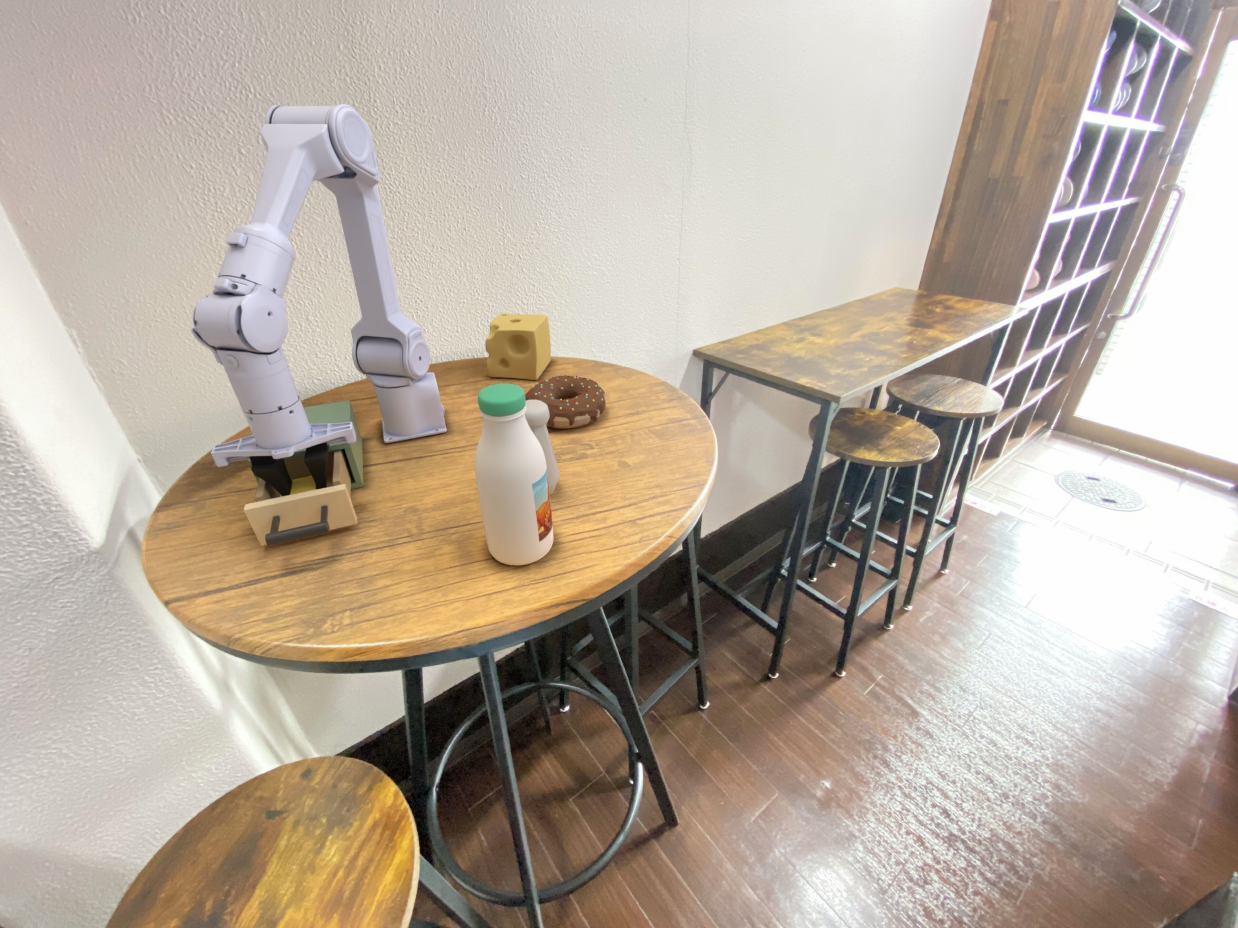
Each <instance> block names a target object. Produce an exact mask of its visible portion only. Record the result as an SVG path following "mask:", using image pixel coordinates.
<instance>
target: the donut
mask: <svg viewBox="0 0 1238 928" xmlns="http://www.w3.org/2000/svg"><path fill="white" fill-rule="evenodd" d="M525 400H540V401H542V402H544V403H545V404H547V406H548V410H549V416H550V418H549V420H548V422H547V423H546V426H547V428H548V427H549V428H553V429H568V430H569V429H576V428H580V427H585V426H587V425H589V424H591V423H594V422H596V420H597V419H598V418H599V417H601V416H602V414H603V413H604V412H605V409H606V405H607V398H606V393H605V391H604V389H603V388H602V387H601V386H600V383H598V382H597V381H595V380H593V379H591V378H590V377H587V376H582V377H581V376H578V375H575V376H574V375H569V374H565V375H564V374H561V375H556V376H552V377H551V378H547V379H544V380H542V381H539V382H536V383H535V385H532V387H530V388H529V390H528V391H526V392H525Z"/></svg>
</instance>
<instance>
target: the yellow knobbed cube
mask: <svg viewBox="0 0 1238 928" xmlns="http://www.w3.org/2000/svg"><path fill="white" fill-rule="evenodd" d="M312 490H317V488H316V485H315V482H314V479H313V477H312V476H309V477H304V478H299V479H294V480H293V481H292V487H291V492H290V495H293V494H298V493H302V492H307V491H312Z"/></svg>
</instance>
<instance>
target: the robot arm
mask: <svg viewBox="0 0 1238 928" xmlns="http://www.w3.org/2000/svg"><path fill="white" fill-rule="evenodd" d="M259 133H260V138H261V140H262V143H263V146H264V148H265V150H266V157H265V160H264V166H263V170H262V174H261V179H260V183H259V187H258V191H257V194H256V200H255V204H254V209H253V213H252V217H251V222H249V223H248V224H243V225H239V226H237V227H235V228H234V229H233V231H232V232H230V233H229V234H228V236H227V240H226V244H227V245H228V246H227V249H226V252H225V254H224V257H223V261H222V263H221V266H220V269H219V272H218V274H217V278H216V279H215V281H214V282H215V283H214V287H213V290H212V292H211V293H208V294H206V295H205V297H201V299H200V300H199V301H197V303H196V305H194V308H193V311H192V324H193V327H192V328H191V329H190V331H191V333H192V335H193V337H194V338H195V340H196V341H197V342H198V343H199V344H201V346H203V347H205V348H207V349H208V350H210V351H211V353H212V355H213V357H214V358H215V360H216V363H217V364H220V366H222V367H223V369H224V372H225V374H226V376H227V378H228V381H229V382H230V385H231V388H232V390H233V392H234V394H235V397H236V399H237V402H238V404H239V406H240V409H241V410H242V413H243V415H244V417H245V419H246V422H247V424H248V426H249V429H250V431H251V433H252V434H251V435H247V436H244V437H241V438H237V439H235V440H231V441H227V442H223V443H217V444H214V445H213V447H212V449H211V452H210V455H211V457H212V459H213V461H214V463H215V465H216V467H217V468H221V467H222V468H223V467H227V466H228V465H230V463H235V462H241V461H246V460H248V459H250V460H251V464H252V467H250V471H251V472H252V474H253V476H254V475H255V476H257V477H259V478H260V479H262V480H264V481H265V482H267V483H268V484H269V485H271V486H272V487H273V488H274V489H275V490H277V491H278V492H279V493H280V494H281V495H282V497H283V496H288V495H290V492H291V487H292V480H291V478H290V476H289V474H288V471H287V468H286V465H285V462H284V459H283V458H285V457H290V456H292V455H293V454H294V452H296V451H299V450H302V449H306V452H305V456H304V462H305V464H306V466H307V468H308V469H309V471H310V473H311V475H312V477H313V479H314V482H315V485H316V488H317V489H322V488H327V484H326V465H327V460H328V454H329V444H335V443H340V442H346V443H354V442H356V433H355V430H354V426H353V423H352V422H346V423H329V424H309V422H308V419H307V416H306V413H305V410H304V408H303V407H304V405H303V402H302V400H301V397H300V394H299V391H298V389H297V386H296V383H295V380H294V378H293V374H292V372H291V369H290V366H289V364H288V360H287V358H286V355H285V353H284V350H283V347H282V346H283V344H284V342H285V340H286V337H287V336H288V333H289V325H288V319H287V315H286V307H287V305H286V300H285V299H284V295H285V292H286V289H287V286H288V283H289V279H290V276H291V274H292V270H293V267H294V263H295V260H296V257H297V254H296V251H295V249H294V247H293V245H292V243H291V241H290V240H289V237H290V235H291V233H292V230H293V228H294V225H295V223H296V221H297V219H298V216H299V214H300V211H301V209H302V208H303V207H302V206H303V204H304V202H305V200H306V197H307V195H308V193H309V190H310V188H311V186H312V184H313V182H316V181H317V182H318V183H321V184H322V185H323V186H324V187H325V188H326V189H328V191H330V193H332V194H333V195H334V197H335V199H336V204H337V208H338V213H339V218H340V222H341V227H342V231H343V237H344V240H345V244H346V245H345V246H346V249H347V255H348V258H349V264H350V268H351V272H352V277H353V281H354V286H355V290H356V296H357V299H358V300H357V301H358V305H359V309H360V313H361V318H360V319H359V320H358V321H357V322H356V323H355V324H354V325H353V326H352V327H351V328H350V335H351V337H352V339H351V340H352V347H351V358H352V362H353V365H354V366H355V368H356V370H357V371H358V373H360V374H362V375H364V376H366V380H367V382H370V383H372V386H373V389H374V393H375V397H376V400H377V404H378V407H379V411H380V414H381V418H382V420H381V425H382V437H383V442H384V444H390V443H395V442H401V441H406V440H412V439H416V438H423V437H428V436H434V435H438V434H439V435H440V434H444V433H446V432H447V431H448V430H447V426H446V425H447V424H446V422H445V421H446V420H445V416H446V412H445V408H444V404H442V401H441V396H440V392H439V387H438V382H437V378H436V375H435V372H431V371H430V372H428V371H429V368H430V365H431V352H430V349H429V346H428V344H427V342H426V340H425V338H424V335H423V330H422V327H421V326H420V325H419V324H418V323H416V322H415V321H414V320H413V319H411V318H409V316H406V315H405V314H404V313H403V312H402V310H401V304H400V300H399V294H398V293H399V292H398V288H397V283H396V277H395V272H394V267H393V266H394V265H393V261H392V255H391V250H390V249H391V248H390V246H389V245H390V244H389V239H388V233H387V228H386V223H385V218H384V217H385V216H384V211H383V207H382V201H381V195H380V190H379V185H378V184H379V183H380V181H381V177H380V172H379V165H378V161H377V156H376V155H377V154H376V150H375V144H374V143H375V142H374V139H373V133H372V128H371V127H370V126H369V125H368V124H367V122H366V121H365V119H363V117H362V116H361V115H360V114H359V112H358V111H357V110H356V109H355V108H354V107H352V106H351V105H349V104H345V103H341V104H336V105H285V104H274V105H272V106H270V107H269V108H268V110H267V111H266V114H265V117H264V124H263V126H262V127H261V129H260V132H259ZM255 476H254V477H255Z"/></svg>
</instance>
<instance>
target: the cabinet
mask: <svg viewBox="0 0 1238 928" xmlns="http://www.w3.org/2000/svg"><path fill="white" fill-rule="evenodd" d="M351 402H352V401H351V400H350V399H348V400H341V401H335V402H329V403H323V404H316V405H310V406H303V408H304V410H305V413H306V416H307V419H308V422H309V424H329V423H346V422H352V423H353V426H354V430H355V433H356V442H354V443H346V442H340V443H335V444H329V451H334V450H339V449H344V451H345V455H346V458H347V461H348V464H349V467H350V470H351V490H353V489H358V488H364V455H363V452H364V451H363V449H364V448H363V438H362V435H361V431H360V428H359V425H358V422H357V418H356V416H355V412H354V408H353V406H352V403H351ZM305 452H306V449H302V450H299V451H296V452H294V454H293V455H292V456H290V457H285V458H283V459H284V460H285V459H291V458H296V457H302V456H305ZM247 463H248V465H249V467H250V468H251V467H252V464H251V460H250V459H247ZM253 476H254V478H255V481H256V482H257V484H258V483H259V479H260V478H259V477H257V476H255V475H254V474H253Z"/></svg>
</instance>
